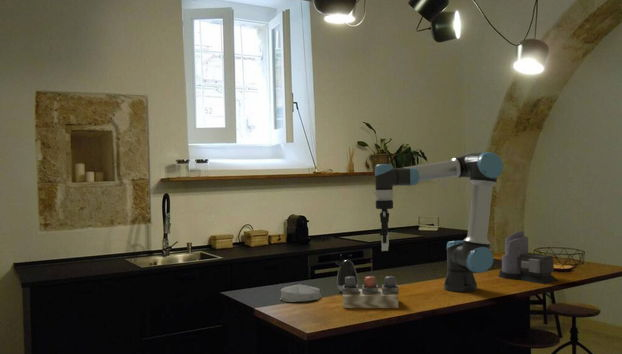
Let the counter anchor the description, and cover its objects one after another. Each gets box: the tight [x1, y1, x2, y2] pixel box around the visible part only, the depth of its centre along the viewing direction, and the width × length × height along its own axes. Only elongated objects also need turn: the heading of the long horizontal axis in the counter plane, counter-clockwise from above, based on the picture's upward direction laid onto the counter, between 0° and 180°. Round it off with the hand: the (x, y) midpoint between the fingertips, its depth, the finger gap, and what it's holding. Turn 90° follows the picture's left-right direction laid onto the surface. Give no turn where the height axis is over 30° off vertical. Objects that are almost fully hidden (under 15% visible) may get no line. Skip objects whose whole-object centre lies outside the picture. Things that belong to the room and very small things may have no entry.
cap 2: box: [384, 275, 396, 287], centre depth 234 cm, size 4×4×4 cm
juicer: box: [497, 230, 559, 285], centre depth 282 cm, size 30×16×24 cm, turn 33°
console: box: [341, 284, 400, 309], centre depth 235 cm, size 24×14×8 cm, turn 84°
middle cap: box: [364, 275, 376, 288], centre depth 235 cm, size 4×4×4 cm
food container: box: [279, 283, 323, 303], centre depth 250 cm, size 20×20×7 cm
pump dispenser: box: [335, 259, 359, 292], centre depth 261 cm, size 10×10×15 cm
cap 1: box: [345, 276, 355, 288], centre depth 236 cm, size 4×4×4 cm
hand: (385, 248), depth 237 cm, fingers open, 13 cm apart
